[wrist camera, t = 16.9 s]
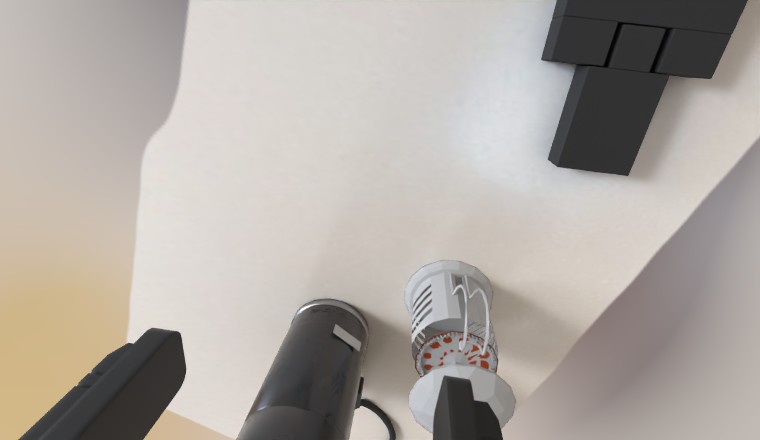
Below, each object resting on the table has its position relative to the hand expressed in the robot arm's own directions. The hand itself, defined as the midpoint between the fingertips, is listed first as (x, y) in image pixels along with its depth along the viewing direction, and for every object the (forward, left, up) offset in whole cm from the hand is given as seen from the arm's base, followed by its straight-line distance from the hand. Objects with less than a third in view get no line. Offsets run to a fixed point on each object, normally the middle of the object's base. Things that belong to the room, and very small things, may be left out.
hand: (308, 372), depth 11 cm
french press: (-14, -9, -26) cm, 31 cm away
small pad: (+7, -18, -26) cm, 33 cm away
